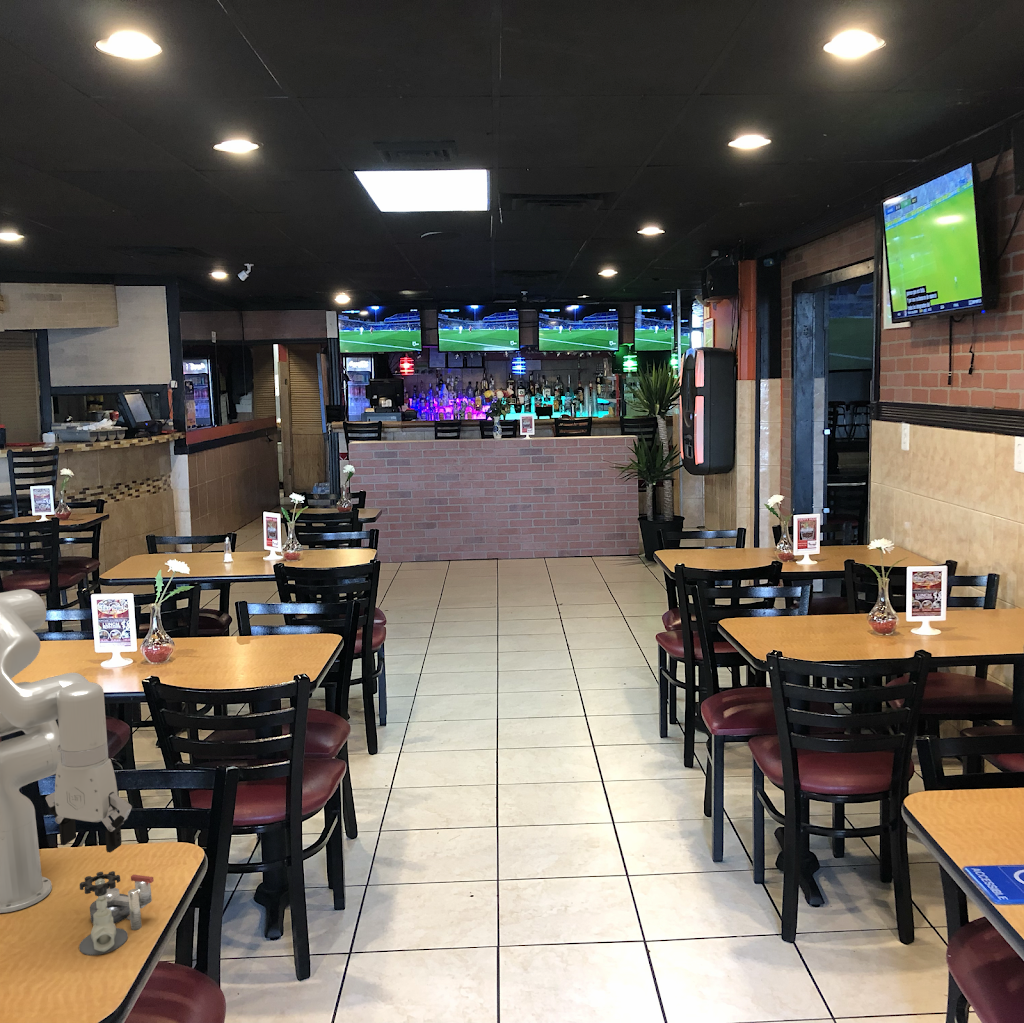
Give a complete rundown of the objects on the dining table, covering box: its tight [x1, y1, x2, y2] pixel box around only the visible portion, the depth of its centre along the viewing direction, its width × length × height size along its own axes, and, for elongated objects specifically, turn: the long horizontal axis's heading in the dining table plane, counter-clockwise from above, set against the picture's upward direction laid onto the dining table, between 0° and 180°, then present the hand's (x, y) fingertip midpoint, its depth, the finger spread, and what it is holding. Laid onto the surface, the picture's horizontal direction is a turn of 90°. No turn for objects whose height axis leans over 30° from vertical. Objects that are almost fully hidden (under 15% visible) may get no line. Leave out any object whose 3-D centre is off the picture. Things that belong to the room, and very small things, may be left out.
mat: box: [78, 927, 129, 956], centre depth 167 cm, size 8×8×1 cm
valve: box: [79, 870, 121, 952], centre depth 165 cm, size 7×7×12 cm
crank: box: [104, 874, 154, 909], centre depth 174 cm, size 12×4×6 cm, turn 72°
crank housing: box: [89, 888, 142, 931], centre depth 175 cm, size 12×7×7 cm, turn 74°
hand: (91, 845), depth 166 cm, fingers open, 9 cm apart
